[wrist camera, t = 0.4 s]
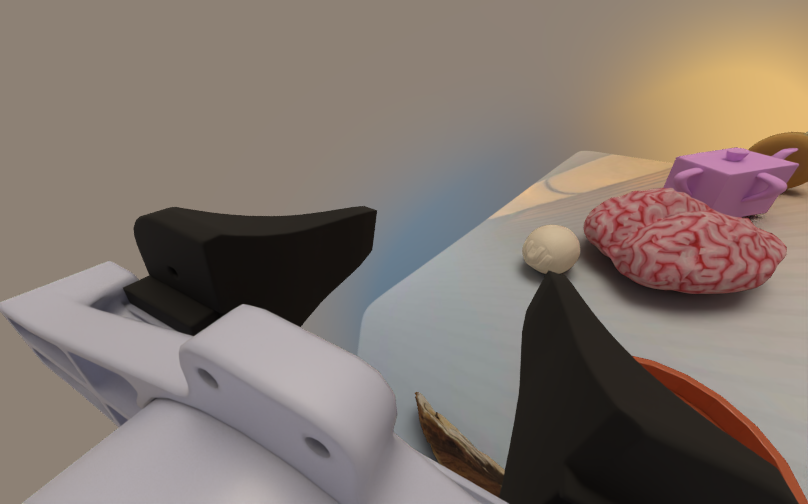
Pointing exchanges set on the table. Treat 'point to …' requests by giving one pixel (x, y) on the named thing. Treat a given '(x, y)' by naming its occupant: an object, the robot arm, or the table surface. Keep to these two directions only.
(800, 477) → the table surface
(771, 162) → the teapot
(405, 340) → the table surface
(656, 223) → the brain
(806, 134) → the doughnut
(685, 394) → the bowl
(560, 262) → the cream ball
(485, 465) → the oyster shell
